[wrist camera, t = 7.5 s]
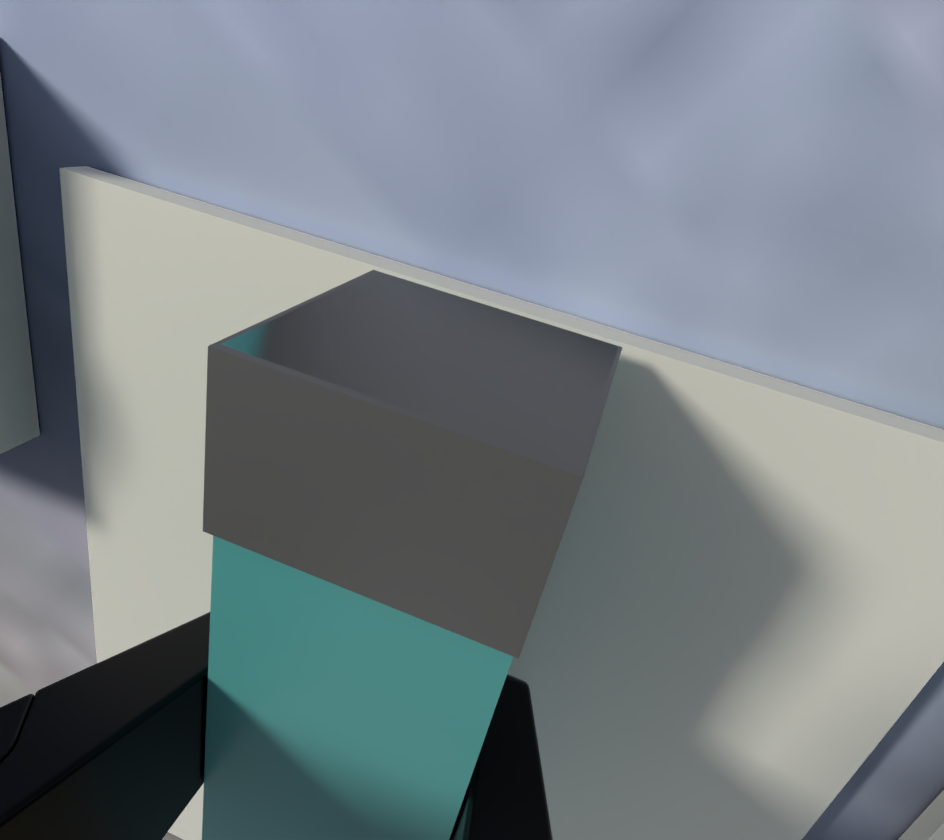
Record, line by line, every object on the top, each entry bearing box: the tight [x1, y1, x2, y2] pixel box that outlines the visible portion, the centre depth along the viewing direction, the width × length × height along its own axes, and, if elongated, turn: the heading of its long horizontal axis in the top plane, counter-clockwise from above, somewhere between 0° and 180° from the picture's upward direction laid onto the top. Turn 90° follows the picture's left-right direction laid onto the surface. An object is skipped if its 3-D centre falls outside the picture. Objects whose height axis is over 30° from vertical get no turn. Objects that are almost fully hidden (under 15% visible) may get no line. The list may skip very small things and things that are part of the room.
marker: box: [202, 270, 622, 840], centre depth 9 cm, size 11×3×3 cm, turn 167°
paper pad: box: [59, 166, 944, 840], centre depth 12 cm, size 16×14×1 cm
